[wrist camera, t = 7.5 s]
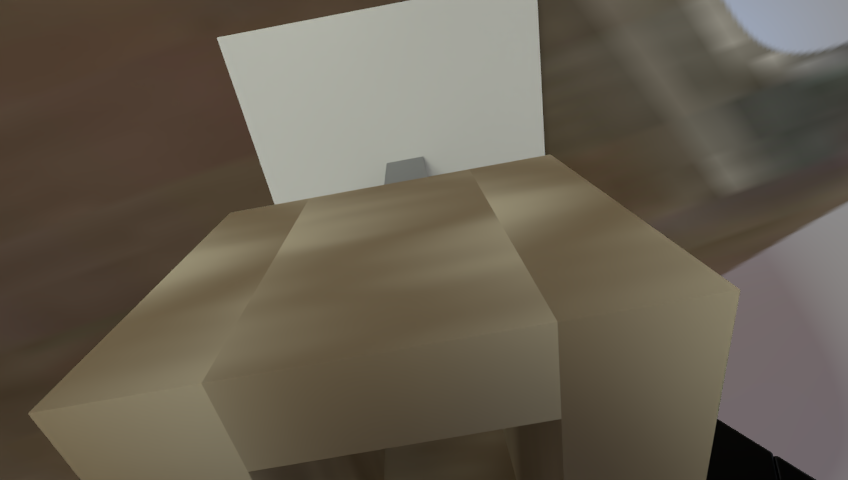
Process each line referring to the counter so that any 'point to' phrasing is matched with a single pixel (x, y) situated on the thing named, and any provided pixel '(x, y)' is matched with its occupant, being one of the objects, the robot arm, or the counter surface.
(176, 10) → the counter surface
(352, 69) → the post stand
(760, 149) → the counter surface
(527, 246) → the beige open box
